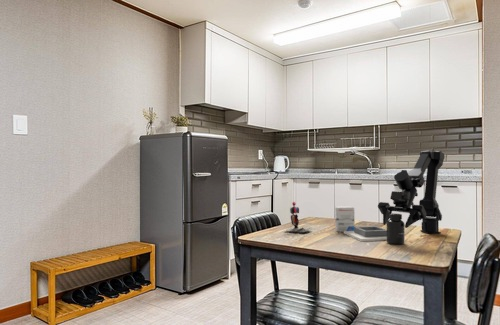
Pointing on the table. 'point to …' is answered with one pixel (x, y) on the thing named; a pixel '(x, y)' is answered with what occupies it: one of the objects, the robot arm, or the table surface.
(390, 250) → the table surface
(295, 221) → the statue
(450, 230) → the table surface
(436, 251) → the table surface
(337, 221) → the ink box
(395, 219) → the supplement bottle
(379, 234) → the pocket plate
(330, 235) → the table surface
